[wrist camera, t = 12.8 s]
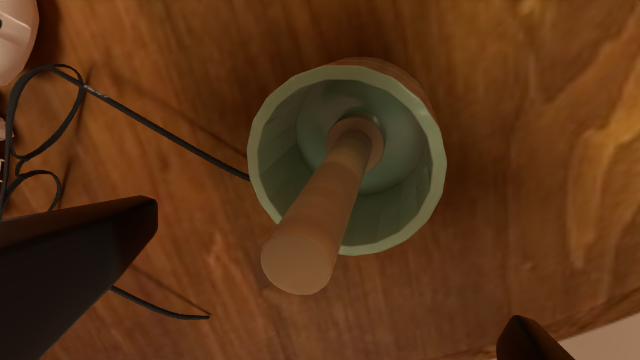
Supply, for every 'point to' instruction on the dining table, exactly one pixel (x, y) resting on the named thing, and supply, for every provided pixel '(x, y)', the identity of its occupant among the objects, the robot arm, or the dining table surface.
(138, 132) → the dining table surface
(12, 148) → the glasses
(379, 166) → the green mortar bowl
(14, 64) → the computer mouse
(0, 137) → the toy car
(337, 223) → the wooden pestle
